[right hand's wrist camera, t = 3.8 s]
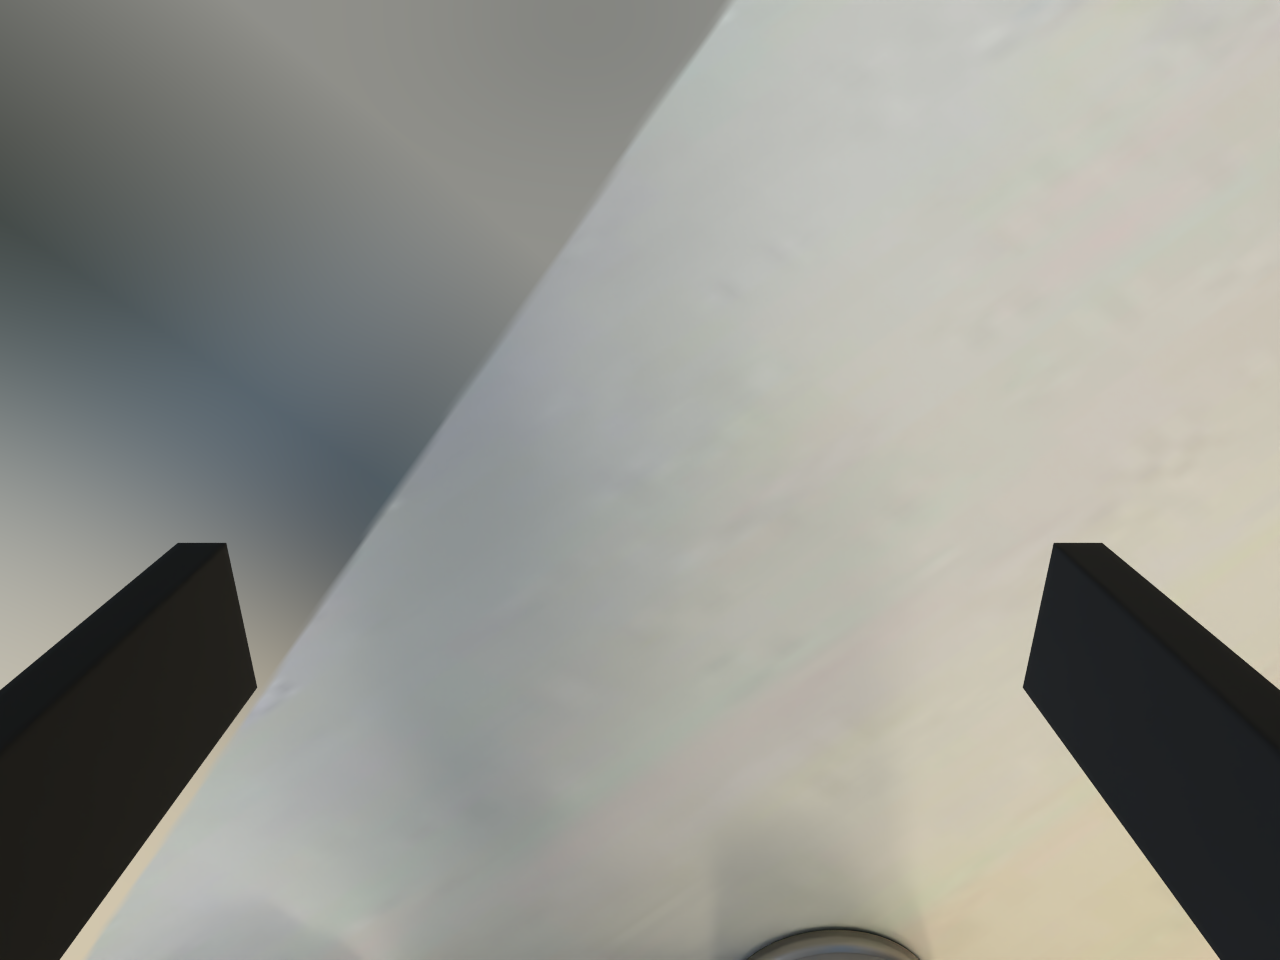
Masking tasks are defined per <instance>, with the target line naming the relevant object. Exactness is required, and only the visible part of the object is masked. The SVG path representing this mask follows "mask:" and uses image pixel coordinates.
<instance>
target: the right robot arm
mask: <svg viewBox="0 0 1280 960" xmlns="http://www.w3.org/2000/svg"><path fill="white" fill-rule="evenodd" d="M256 688H257V685H256V680H255V675H254V671H253V666H252V661H251V657H250V652H249V647H248V643H247V638H246V633H245V629H244V624H243V619H242V615H241V610H240V605H239V600H238V596H237V591H236V586H235V582H234V577H233V572H232V568H231V563H230V558H229V554H228V549H227V544H226V543H177V544H176V545H175V546H174V547H172V548H171V549H170V550H169V551H168V552H166V553H165V554H164V555H163V556H162V557H160V558H159V559H158V560H157V561H156V562H154V563H153V564H152V565H151V566H150V567H148V568H147V569H146V570H145V571H144V572H142V573H141V574H140V575H139V576H137V577H136V578H135V579H134V580H133V581H131V582H130V583H129V584H128V585H127V586H125V587H124V588H123V589H122V590H121V591H119V592H118V593H117V594H116V595H115V596H113V597H112V598H111V599H110V600H108V601H107V602H106V603H105V604H104V605H102V606H101V607H100V608H99V609H98V610H96V611H95V612H94V613H93V614H92V615H90V616H89V617H88V618H87V619H86V620H84V621H83V622H82V623H81V624H79V625H78V626H77V627H76V628H75V629H74V630H72V631H71V632H70V633H69V634H67V635H66V636H65V637H64V638H63V639H61V640H60V641H59V642H58V643H57V644H55V645H54V646H53V647H52V648H51V649H49V650H48V651H47V652H46V653H45V654H43V655H42V656H41V657H40V658H39V659H37V660H36V661H35V662H34V663H32V664H31V665H30V666H29V667H28V668H26V669H25V670H24V671H23V672H22V673H20V674H19V675H18V676H17V677H16V678H14V679H13V680H12V681H11V682H10V683H8V684H7V685H6V686H5V687H3V688H2V689H1V690H0V960H60V958H61V957H62V956H63V954H64V953H65V952H66V950H67V949H68V947H69V946H70V945H71V943H72V942H73V941H74V939H75V938H76V936H77V935H78V934H79V932H80V931H81V929H82V928H83V927H84V925H85V924H86V923H87V921H88V920H89V919H90V917H91V916H92V914H93V913H94V912H95V910H96V909H97V908H98V906H99V905H100V903H101V902H102V901H103V899H104V898H105V897H106V895H107V894H108V892H109V891H110V890H111V888H112V887H113V885H114V884H115V883H116V881H117V880H118V879H119V877H120V876H121V874H122V873H123V872H124V870H125V869H126V868H127V866H128V865H129V863H130V862H131V861H132V859H133V858H134V857H135V855H136V854H137V852H138V851H139V850H140V848H141V847H142V846H143V844H144V843H145V841H146V840H147V839H148V837H149V836H150V835H151V833H152V832H153V830H154V829H155V828H156V826H157V825H158V823H159V822H160V821H161V819H162V818H163V817H164V815H165V814H166V812H167V811H168V810H169V808H170V807H171V806H172V804H173V803H174V801H175V800H176V799H177V797H178V796H179V795H180V793H181V792H182V790H183V789H184V788H185V786H186V785H187V784H188V782H189V781H190V779H191V778H192V777H193V775H194V774H195V773H196V771H197V770H198V768H199V767H200V766H201V764H202V763H203V762H204V760H205V759H206V757H207V756H208V755H209V753H210V752H211V750H212V749H213V748H214V746H215V745H216V744H217V742H218V741H219V739H220V738H221V737H222V735H223V734H224V733H225V731H226V730H227V728H228V727H229V726H230V724H231V723H232V722H233V720H234V719H235V717H236V716H237V715H238V713H239V712H240V710H241V709H242V708H243V706H244V705H245V704H246V702H247V701H248V700H249V698H250V697H251V695H252V694H253V693H254V691H255V690H256ZM1023 688H1024V690H1025V691H1026V693H1027V694H1028V695H1029V697H1030V698H1031V700H1032V701H1033V702H1034V704H1035V705H1036V706H1037V708H1038V709H1039V711H1040V712H1041V713H1042V715H1043V716H1044V717H1045V719H1046V720H1047V722H1048V723H1049V724H1050V726H1051V727H1052V728H1053V730H1054V731H1055V733H1056V734H1057V735H1058V737H1059V738H1060V739H1061V741H1062V742H1063V744H1064V745H1065V746H1066V748H1067V749H1068V750H1069V752H1070V753H1071V755H1072V756H1073V757H1074V759H1075V760H1076V762H1077V763H1078V764H1079V766H1080V767H1081V768H1082V770H1083V771H1084V773H1085V774H1086V775H1087V777H1088V778H1089V779H1090V781H1091V782H1092V784H1093V785H1094V786H1095V788H1096V789H1097V790H1098V792H1099V793H1100V795H1101V796H1102V797H1103V799H1104V800H1105V801H1106V803H1107V804H1108V806H1109V807H1110V808H1111V810H1112V811H1113V812H1114V814H1115V815H1116V817H1117V818H1118V819H1119V821H1120V822H1121V823H1122V825H1123V826H1124V828H1125V829H1126V830H1127V832H1128V833H1129V835H1130V836H1131V837H1132V839H1133V840H1134V841H1135V843H1136V844H1137V846H1138V847H1139V848H1140V850H1141V851H1142V852H1143V854H1144V855H1145V857H1146V858H1147V859H1148V861H1149V862H1150V863H1151V865H1152V866H1153V868H1154V869H1155V870H1156V872H1157V873H1158V874H1159V876H1160V877H1161V879H1162V880H1163V881H1164V883H1165V884H1166V885H1167V887H1168V888H1169V890H1170V891H1171V892H1172V894H1173V895H1174V897H1175V898H1176V899H1177V901H1178V902H1179V903H1180V905H1181V906H1182V908H1183V909H1184V910H1185V912H1186V913H1187V914H1188V916H1189V917H1190V919H1191V920H1192V921H1193V923H1194V924H1195V925H1196V927H1197V928H1198V930H1199V931H1200V932H1201V934H1202V935H1203V936H1204V938H1205V939H1206V941H1207V942H1208V943H1209V945H1210V946H1211V947H1212V949H1213V950H1214V952H1215V953H1216V954H1217V956H1218V957H1219V959H1220V960H1280V690H1279V689H1278V688H1277V687H1275V686H1274V685H1273V684H1272V683H1271V682H1269V681H1268V680H1267V679H1266V678H1264V677H1263V676H1262V675H1261V674H1260V673H1258V672H1257V671H1256V670H1255V669H1254V668H1252V667H1251V666H1250V665H1249V664H1248V663H1246V662H1245V661H1244V660H1243V659H1242V658H1240V657H1239V656H1238V655H1237V654H1236V653H1234V652H1233V651H1232V650H1231V649H1229V648H1228V647H1227V646H1226V645H1225V644H1223V643H1222V642H1221V641H1220V640H1219V639H1217V638H1216V637H1215V636H1214V635H1213V634H1211V633H1210V632H1209V631H1208V630H1207V629H1205V628H1204V627H1203V626H1202V625H1200V624H1199V623H1198V622H1197V621H1196V620H1194V619H1193V618H1192V617H1191V616H1190V615H1188V614H1187V613H1186V612H1185V611H1184V610H1182V609H1181V608H1180V607H1179V606H1178V605H1176V604H1175V603H1174V602H1173V601H1172V600H1170V599H1169V598H1168V597H1167V596H1165V595H1164V594H1163V593H1162V592H1161V591H1159V590H1158V589H1157V588H1156V587H1155V586H1153V585H1152V584H1151V583H1150V582H1149V581H1147V580H1146V579H1145V578H1144V577H1143V576H1141V575H1140V574H1139V573H1138V572H1137V571H1135V570H1134V569H1133V568H1132V567H1130V566H1129V565H1128V564H1127V563H1126V562H1124V561H1123V560H1122V559H1121V558H1120V557H1118V556H1117V555H1116V554H1115V553H1114V552H1112V551H1111V550H1110V549H1109V548H1108V547H1106V546H1105V545H1104V544H1103V543H1054V544H1053V549H1052V554H1051V558H1050V563H1049V568H1048V572H1047V577H1046V582H1045V586H1044V591H1043V596H1042V600H1041V605H1040V610H1039V615H1038V619H1037V624H1036V629H1035V633H1034V638H1033V643H1032V647H1031V652H1030V657H1029V661H1028V666H1027V671H1026V675H1025V680H1024V685H1023ZM747 960H919V959H918V958H917V957H916V956H915V955H913V954H912V953H911V952H910V951H908V950H907V949H906V948H904V947H902V946H901V945H899V944H897V943H895V942H893V941H891V940H889V939H886V938H883V937H880V936H877V935H873V934H870V933H864V932H859V931H850V930H823V931H814V932H808V933H803V934H799V935H795V936H791V937H788V938H785V939H782V940H780V941H777V942H775V943H773V944H771V945H769V946H767V947H765V948H763V949H761V950H760V951H758V952H756V953H755V954H754V955H752V956H751V957H749V958H748V959H747Z"/></svg>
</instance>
